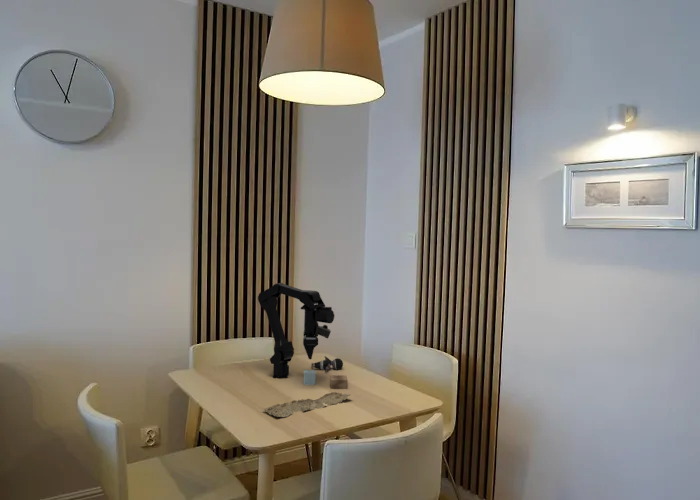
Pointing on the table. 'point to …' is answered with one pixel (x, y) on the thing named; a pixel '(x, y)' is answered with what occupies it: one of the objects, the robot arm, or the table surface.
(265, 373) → the table surface
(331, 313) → the robot arm
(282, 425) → the table surface
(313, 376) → the cube
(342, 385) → the base block
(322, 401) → the rock fragment
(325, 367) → the toy
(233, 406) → the table surface
